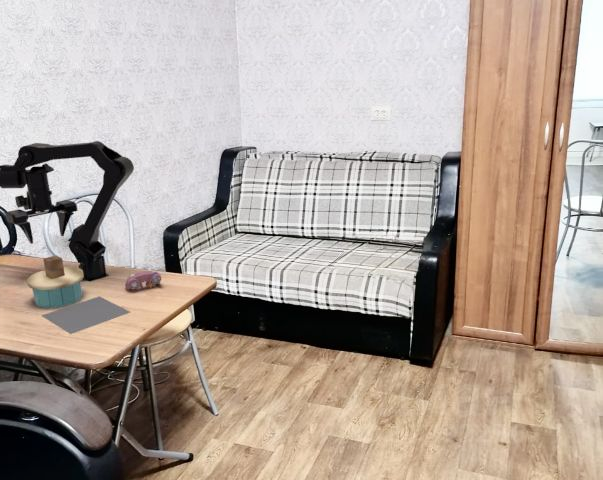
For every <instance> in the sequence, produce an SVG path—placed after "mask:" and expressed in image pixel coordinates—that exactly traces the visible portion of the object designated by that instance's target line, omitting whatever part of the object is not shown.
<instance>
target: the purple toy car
mask: <svg viewBox="0 0 603 480" xmlns="http://www.w3.org/2000/svg"><path fill="white" fill-rule="evenodd" d="M161 281H162V276H161V274H160V273H159V272H158V271H157V270H155V269H154V270H141V271H138V272H136V273H131V274H130V275H129V276H127V279H126V281H125V284H124V285H125V290H127V291H131V289H133V290H135V291H138V290H142V289H143V288H144V287H143V285H144V284H143V283H145V287H146V288H147V289H149V288H150V289H151V288H154V287H155V286H156V285H159V284H160V283H161Z"/></svg>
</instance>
